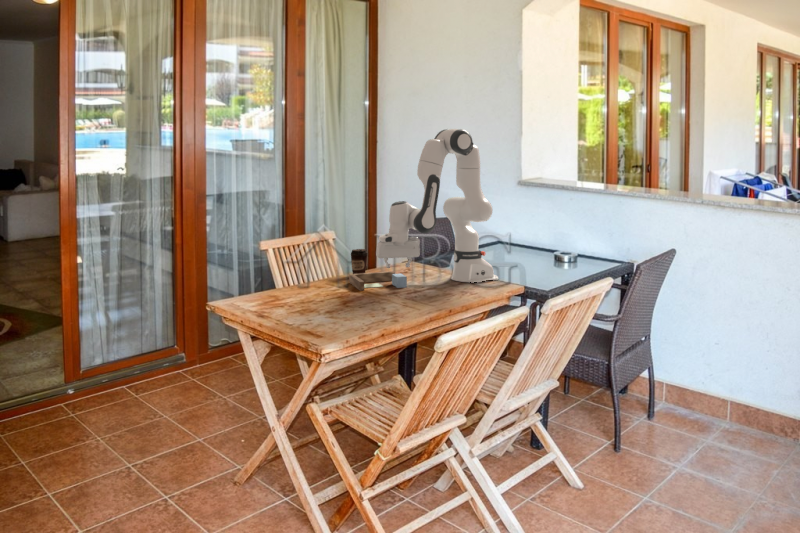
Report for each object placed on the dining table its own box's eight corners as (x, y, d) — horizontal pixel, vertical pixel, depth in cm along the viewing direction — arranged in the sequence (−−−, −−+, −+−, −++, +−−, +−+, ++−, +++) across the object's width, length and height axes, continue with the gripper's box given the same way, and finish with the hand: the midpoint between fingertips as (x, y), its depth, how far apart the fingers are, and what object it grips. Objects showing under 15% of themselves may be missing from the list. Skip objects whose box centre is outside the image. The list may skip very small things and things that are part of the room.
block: (401, 284, 350) (401, 273, 349) (406, 287, 343) (406, 276, 342) (391, 284, 349) (391, 274, 348) (397, 288, 341) (397, 277, 340)
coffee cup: (365, 278, 362) (365, 251, 359) (348, 277, 364) (348, 250, 361) (369, 274, 370) (369, 248, 368) (353, 273, 372) (353, 248, 369)
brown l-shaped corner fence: (393, 279, 359) (393, 271, 358) (406, 287, 343) (406, 278, 342) (348, 282, 352) (348, 274, 351) (359, 290, 335) (359, 281, 335)
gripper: (417, 235, 348) (416, 265, 350) (375, 236, 341) (374, 267, 343) (422, 237, 342) (421, 267, 344) (379, 238, 335) (379, 269, 337)
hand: (397, 267), depth 344 cm, fingers open, 8 cm apart
